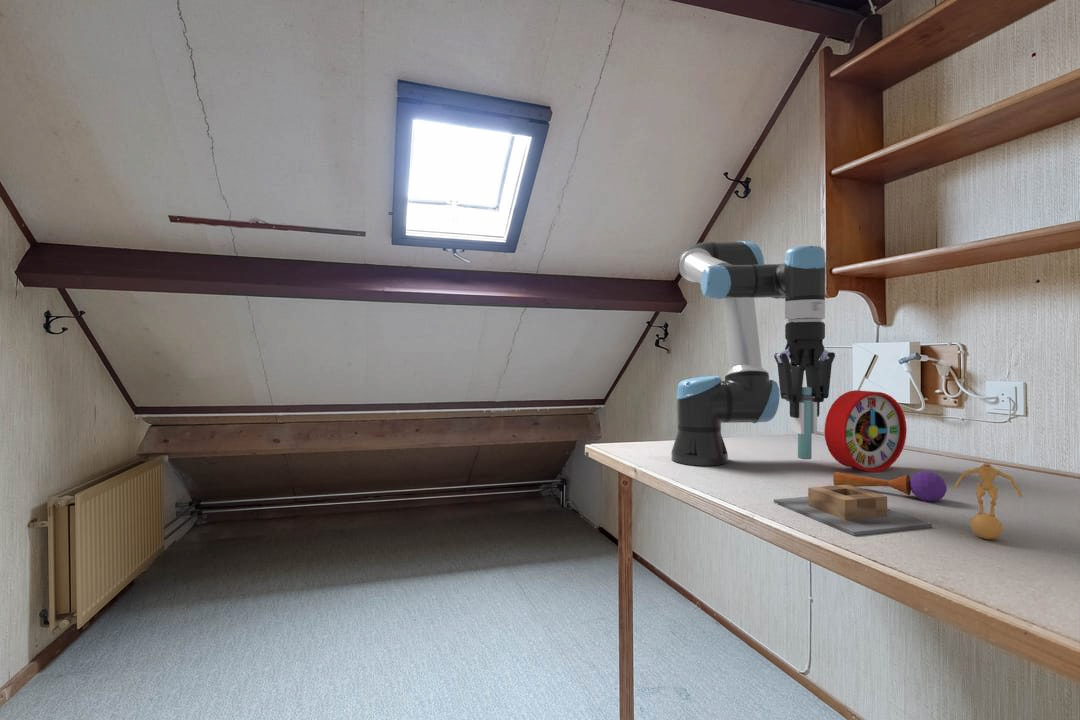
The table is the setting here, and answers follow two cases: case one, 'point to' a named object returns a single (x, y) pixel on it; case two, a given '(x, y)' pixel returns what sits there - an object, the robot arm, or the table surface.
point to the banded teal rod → (806, 426)
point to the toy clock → (865, 430)
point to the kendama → (901, 484)
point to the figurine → (988, 523)
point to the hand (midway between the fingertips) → (804, 432)
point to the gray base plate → (851, 510)
